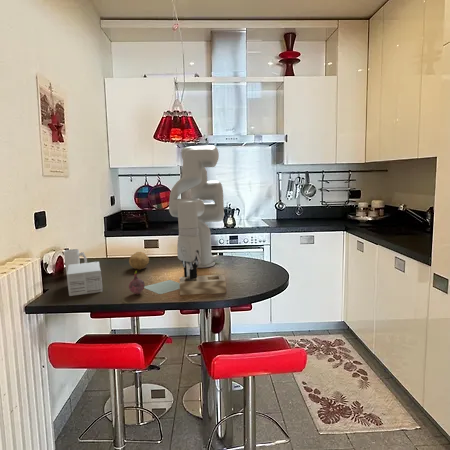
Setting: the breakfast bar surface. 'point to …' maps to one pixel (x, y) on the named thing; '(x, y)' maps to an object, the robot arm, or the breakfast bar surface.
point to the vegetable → (136, 285)
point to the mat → (163, 287)
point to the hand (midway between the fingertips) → (190, 277)
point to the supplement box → (84, 278)
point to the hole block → (203, 285)
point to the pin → (188, 271)
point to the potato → (139, 260)
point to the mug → (73, 257)
